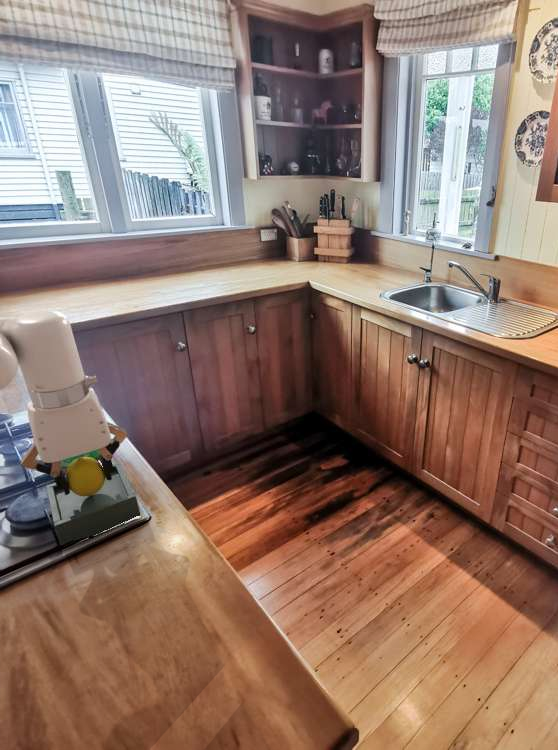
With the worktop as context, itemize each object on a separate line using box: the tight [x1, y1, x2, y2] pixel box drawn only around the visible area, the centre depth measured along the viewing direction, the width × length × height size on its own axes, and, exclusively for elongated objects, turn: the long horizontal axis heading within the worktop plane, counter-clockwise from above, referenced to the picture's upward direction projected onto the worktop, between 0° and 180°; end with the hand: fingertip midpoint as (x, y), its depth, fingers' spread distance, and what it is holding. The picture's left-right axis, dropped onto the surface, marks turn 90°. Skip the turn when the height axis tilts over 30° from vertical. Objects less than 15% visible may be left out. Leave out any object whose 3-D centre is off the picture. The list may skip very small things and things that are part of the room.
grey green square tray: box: [45, 461, 142, 545], centre depth 82 cm, size 12×12×5 cm
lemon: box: [66, 457, 105, 496], centre depth 79 cm, size 6×6×8 cm
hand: (87, 482), depth 80 cm, fingers open, 5 cm apart
